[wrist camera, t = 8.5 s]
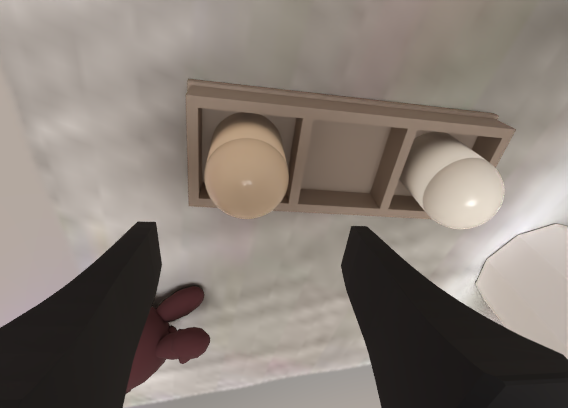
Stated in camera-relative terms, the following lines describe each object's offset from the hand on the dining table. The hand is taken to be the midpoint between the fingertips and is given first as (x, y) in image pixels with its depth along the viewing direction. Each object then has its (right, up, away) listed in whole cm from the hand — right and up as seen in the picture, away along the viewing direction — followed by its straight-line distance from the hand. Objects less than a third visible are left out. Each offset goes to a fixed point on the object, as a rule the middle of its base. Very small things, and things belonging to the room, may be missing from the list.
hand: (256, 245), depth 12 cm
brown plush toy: (-12, -8, +17) cm, 22 cm away
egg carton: (+5, +5, +10) cm, 12 cm away
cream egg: (+11, +4, +10) cm, 16 cm away
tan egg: (-1, +5, +8) cm, 10 cm away
